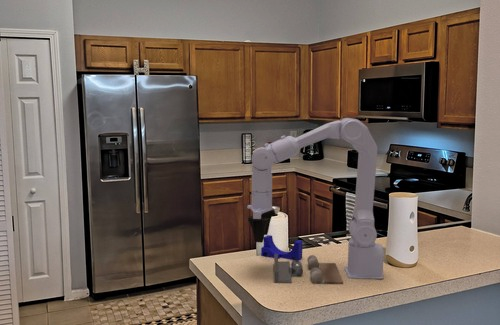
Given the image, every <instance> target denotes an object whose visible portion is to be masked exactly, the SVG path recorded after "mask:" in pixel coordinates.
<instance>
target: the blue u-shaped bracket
mask: <svg viewBox="0 0 500 325" xmlns="http://www.w3.org/2000/svg"><path fill="white" fill-rule="evenodd" d="M260 251H261V252H260V256H261V257H265V256H266V258H271V259H274V254H278V260H279V259H286V260H291V261H294V260H299V261H301V260H302V259H303V240H300V239H297V240H295V241H294V242H293V247H292V249H291V250H290V251H283V250H281V249H279V248H278V247H277V245H276V244H275V242H274V239H273V235H271V234H267V235H264V239H263V246H261V249H260Z"/></svg>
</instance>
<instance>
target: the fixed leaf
mask: <svg viewBox="0 0 500 325" xmlns="http://www.w3.org/2000/svg"><path fill="white" fill-rule="evenodd" d="M306 262H307V265H308V269H310V272H309V274H310V278H311V281H312V282H313V284H315V285H343V284H344V281H343V279H342V276H341V273H340V271H339V269H338V266H337V264H336V263H335V262H319V260H318V258H317V256H316V255H313V254H312V255H309V256H308V257H307V260H306Z"/></svg>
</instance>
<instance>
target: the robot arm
mask: <svg viewBox="0 0 500 325" xmlns="http://www.w3.org/2000/svg"><path fill="white" fill-rule="evenodd" d="M326 139H334V140H340V139H341V140H343V141H345V142H347V143H349V144H350V145H351V146H352V147H353V149H355V151H356V152H357V153H358V154H357V156H358V157H357V158H358V159H357V170H356V185H355V197H354V198H355V199H354V208H353V210H352V213H351V214H352V215H351V219H350V221H349V222H348V224H347V229H348V233H349V234H350V235H351V236H350V238H349V239H348V247H347V248H348V249H347V266H344V271H345V273H346V275H347V278H348V279H365V280H366V279H368V280H369V279H371V280H383V279H384V276H383V274H384V249H383V248H384V247H383V245H382V244H381V243H376V240H377V237H378V234H377V230H376V228H375V216H374V199H375V198H374V197H375V186H376V175H377V174H376V173H377V172H376V171H377V162H378V161H377V159H378V145H377V143H376V141H375V140H374V137H373V136H372V134H371V132H370V131H369V127H368V126H367V125H365V123H363V122H362V121H360V120H359V119H357V118H350V117H344V118H342V119H339V120H334V121H332V122H327V123H325V124H323V125H321V126H319V127H317V128H315V129H312V130H310V131H308V132H305V133H303V134H302V135H299V136H297V137H294V136H291V135H288V136H286V135H282V136H280V139H277V140H275V141H273V142H271V143H268V142H267V143H264V147H263V146H262V147H257V148H256V149H254V151H253V153H252V155H251V164H252V168H251V171H252V172H251V173H252V174H251V204H248V205H247V207H246V208H247V209H249V210H251V211H252V215H248V216H247V221H248V223H249V224H250V227H251V231H252V234H253V239H254V243H262V244H263V243H264V237H265V236H267V235H269V229H270V225H271V220H272V217H273V215H274V213H275V209H274V208H273V173H272V166H273V164H278V163H281V162H284V161H285V160H288V159H291V158H293V157H295V156H298V154H299V152H300V149H302V148H305V147H308V146H310V145H313V144H316V143H318V142H320V141H323V140H326Z"/></svg>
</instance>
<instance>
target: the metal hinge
mask: <svg viewBox="0 0 500 325" xmlns="http://www.w3.org/2000/svg"><path fill="white" fill-rule="evenodd" d="M291 261H292V262H291V263H290V261H284V260H283V261H281V260H280V261H279V259H278V254H274V258H273V263H274V264H273V268H274V269H273V270H274V272H273V273H274V274H273V276H274V283H276V284H278V283H279V284H280V283H281V284H292V279H293V278H292V277H299V276H301V275H302V274H303V271H304V269H303V263H302V262H301V260H296V259H294V260H291Z"/></svg>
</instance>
